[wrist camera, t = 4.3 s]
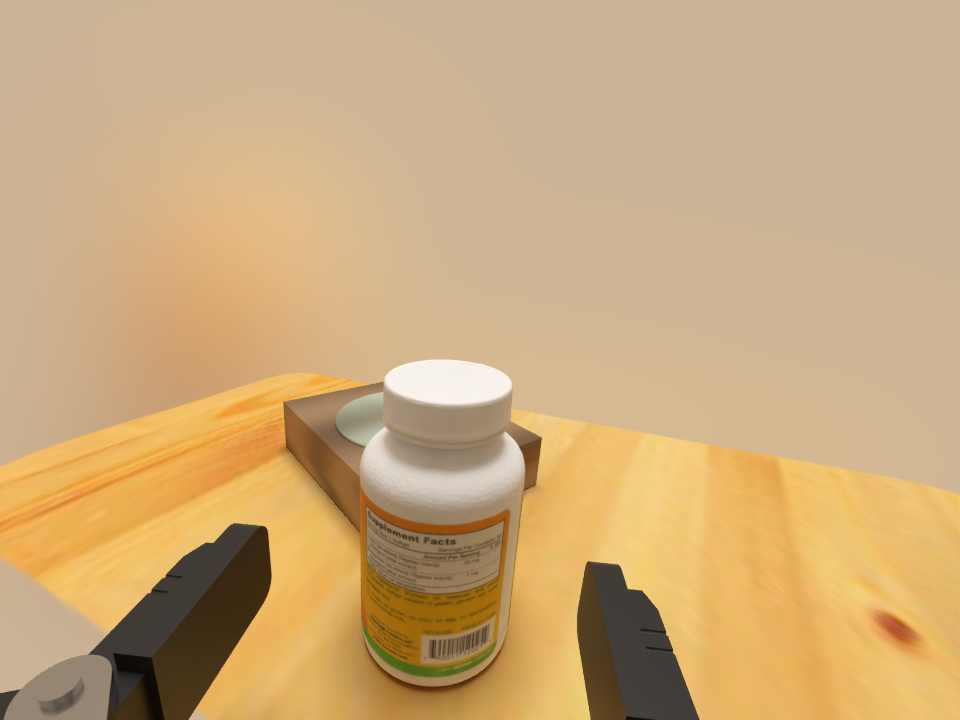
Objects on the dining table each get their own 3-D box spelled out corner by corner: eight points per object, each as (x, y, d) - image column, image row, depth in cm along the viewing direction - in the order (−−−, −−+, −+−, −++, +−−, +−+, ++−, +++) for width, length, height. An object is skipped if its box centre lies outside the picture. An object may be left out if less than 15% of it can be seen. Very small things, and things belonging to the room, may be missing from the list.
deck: (535, 484, 26) (542, 434, 25) (382, 558, 20) (382, 495, 19) (420, 411, 35) (421, 371, 34) (286, 446, 28) (283, 398, 27)
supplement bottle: (419, 550, 20) (426, 343, 17) (529, 602, 18) (560, 373, 15) (328, 642, 16) (318, 382, 13) (460, 728, 13) (485, 434, 10)
